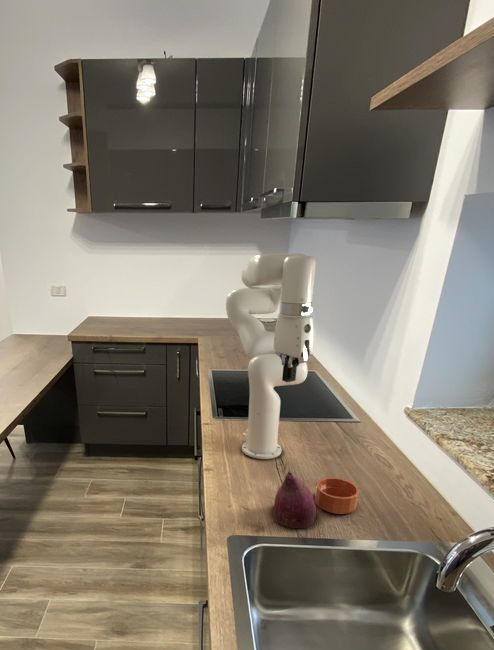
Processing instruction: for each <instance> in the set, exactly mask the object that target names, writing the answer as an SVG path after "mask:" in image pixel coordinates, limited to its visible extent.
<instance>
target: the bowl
mask: <svg viewBox="0 0 494 650" xmlns="http://www.w3.org/2000/svg"><path fill="white" fill-rule="evenodd" d="M359 495H360V490H359V487H358V486H357V485H356V484H355V483H354V482H351V481H350V480H347V479H344V478H341V477H333V476H332V477H324V478H321V479H320V480H318V481H317V482H316V487H315V495H314V502H315V505H316V506H318V507H319V508H320V509H322V510H323V511H325V512H327V513H332V514H336V515H346V514H350V513H352V512H353V513H354V511H355V510H356V509H357V507H358V501H359Z"/></svg>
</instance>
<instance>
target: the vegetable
mask: <svg viewBox="0 0 494 650" xmlns="http://www.w3.org/2000/svg"><path fill="white" fill-rule="evenodd" d="M316 509H317V508H316V502H315V497H314V496H313V493H312V491H311V490H310V488H309V486H308V485H307V484H306V483H305V482H304V481H303V480H301V479H300V477H299V476H297V474H295V473H294V472H292V471H290V470H287V473H286V474H285V477H284V479H283V481H282V483H281V485H280V487H279V488H278V490H277V492H276V494H275V497H274V502H273V519H274V520H275V522H277V523H278V524H280V525H283V526H284V527H287V528H290V529H307V528H309V527H311V526H312V525H314V523H315V521H316V517H317V510H316Z"/></svg>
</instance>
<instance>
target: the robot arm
mask: <svg viewBox="0 0 494 650" xmlns="http://www.w3.org/2000/svg"><path fill="white" fill-rule="evenodd" d="M316 265H317V261H316V258H315V257H314V256H311V255H305V254H304V253H294V252H293V253H263V254H262V253H261V254H256V255H254V256H252V257H251V258H250V259H249V261H248V263H247V264H245V266H244V267H243V268H242V271H241V275H240V277H241V281H242V283H243V285H244V286H245V287H243V288H237V289H233V290H232V291H230V292H229V293H228V294H227V296H226V299H225V311H226V315H227V318H228V319H227V320H228V321H229V323H230V325H231V327H232V328H233V329H234V331H235V332H236V333H237V335H238V337H239V339H240V343H241V345H242V348H243V351H244V353H245V355H246V357H247V358H248V360H249V362H248V366H247V377H248V385H249V386H248V387H249V400H248V418H247V429H245V432H243V433H242V435H241V436H242V437H243V438H244V439H245V442H243V443H242V445H241V451H242V453H244V454H245V455H246V456H248V457H250V458H253V459H258V460H271V459H276V458H278V457H279V456H281V454H282V450H283V449H282V447H281V445H280V444H279V443H278V437H279V427H280V425H279V424H280V413H281V397H280V396H279V393H278V392H277V391H276V390H275V389H274V388H276V387H281V386H282V387H283V386H295V385H300V384H302V383H304V382H305V381H306V380H307V377H308V369H309V368H308V360H309V359H308V357H310V356H312V354H313V351H314V338H315V334H314V333H315V330H314V329H315V327H314V318H313V316H311V315H312V313H313V310H314V309H313V307H312V304H313V296H314V295H313V294H314V285H315V277H316ZM278 309H279V313H278V315H277V319H276V324H275V328H274V331H268V330H266V328H265V325H264V324H263V322H262V321H261V320H260V319H258V318H257V317H255V316H254V315H266V314H267V315H269V314H274V313H276V312H277V311H278Z"/></svg>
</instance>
